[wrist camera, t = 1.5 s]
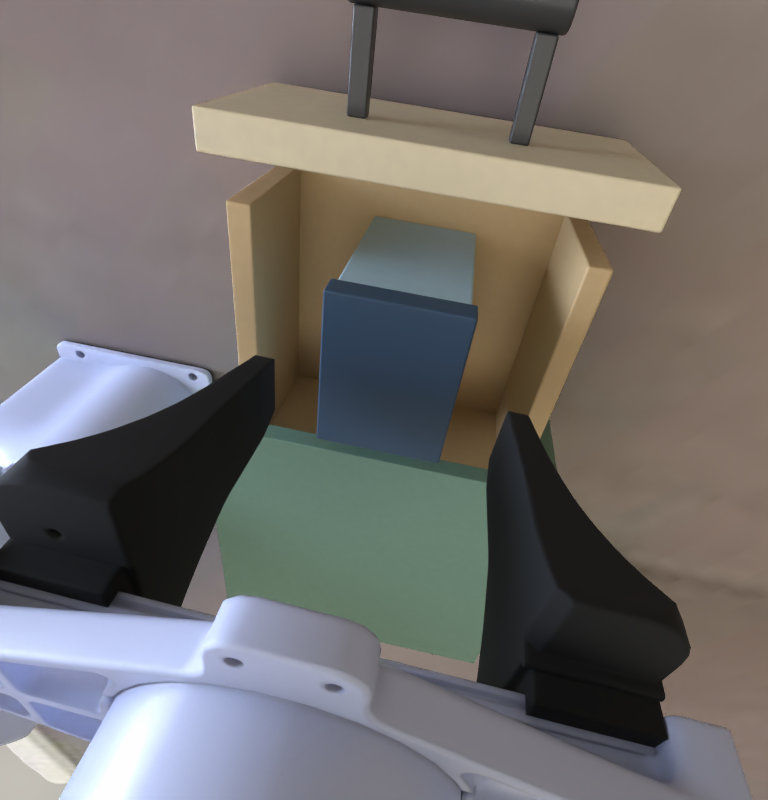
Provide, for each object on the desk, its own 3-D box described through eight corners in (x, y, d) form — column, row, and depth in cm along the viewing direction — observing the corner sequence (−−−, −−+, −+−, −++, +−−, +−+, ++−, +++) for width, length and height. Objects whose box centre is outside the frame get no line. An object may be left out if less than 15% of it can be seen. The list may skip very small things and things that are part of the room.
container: (358, 335, 24) (315, 439, 18) (371, 210, 20) (322, 289, 14) (451, 353, 23) (438, 464, 17) (481, 230, 20) (478, 319, 14)
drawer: (269, -66, 16) (166, -107, 11) (683, -5, 15) (781, -17, 10) (277, 369, 27) (228, 451, 22) (519, 417, 26) (527, 514, 21)
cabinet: (271, 323, 26) (200, 423, 20) (542, 376, 26) (561, 498, 19) (276, 499, 35) (228, 607, 29) (476, 542, 35) (473, 663, 28)
